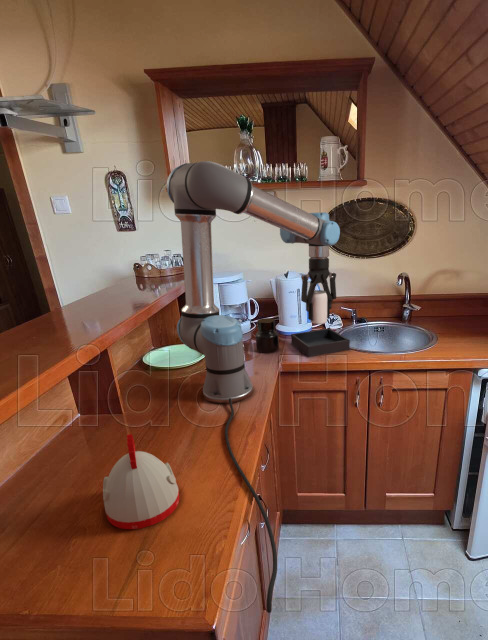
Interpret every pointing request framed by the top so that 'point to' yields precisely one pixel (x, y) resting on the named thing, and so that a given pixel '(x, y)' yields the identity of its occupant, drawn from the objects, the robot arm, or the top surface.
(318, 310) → the can
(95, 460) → the top surface
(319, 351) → the pan
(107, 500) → the toy helmet
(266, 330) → the ink bottle
